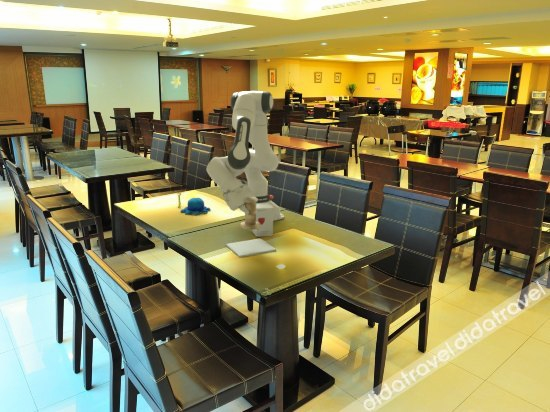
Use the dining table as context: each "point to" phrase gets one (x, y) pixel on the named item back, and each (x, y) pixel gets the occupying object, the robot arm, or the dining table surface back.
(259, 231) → the supplement box
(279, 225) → the dining table surface
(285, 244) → the dining table surface
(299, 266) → the dining table surface
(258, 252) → the grey rubber mat
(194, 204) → the plush toy
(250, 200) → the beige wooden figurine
